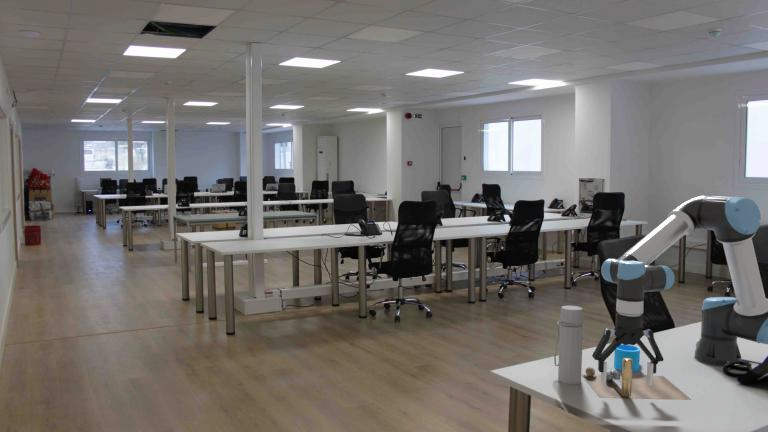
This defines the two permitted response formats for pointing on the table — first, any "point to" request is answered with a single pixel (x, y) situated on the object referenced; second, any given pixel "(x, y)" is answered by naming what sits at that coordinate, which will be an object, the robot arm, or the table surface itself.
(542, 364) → the table surface
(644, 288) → the robot arm
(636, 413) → the table surface
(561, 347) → the water bottle
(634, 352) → the mug
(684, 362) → the table surface
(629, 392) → the lever
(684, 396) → the nutcracker base
